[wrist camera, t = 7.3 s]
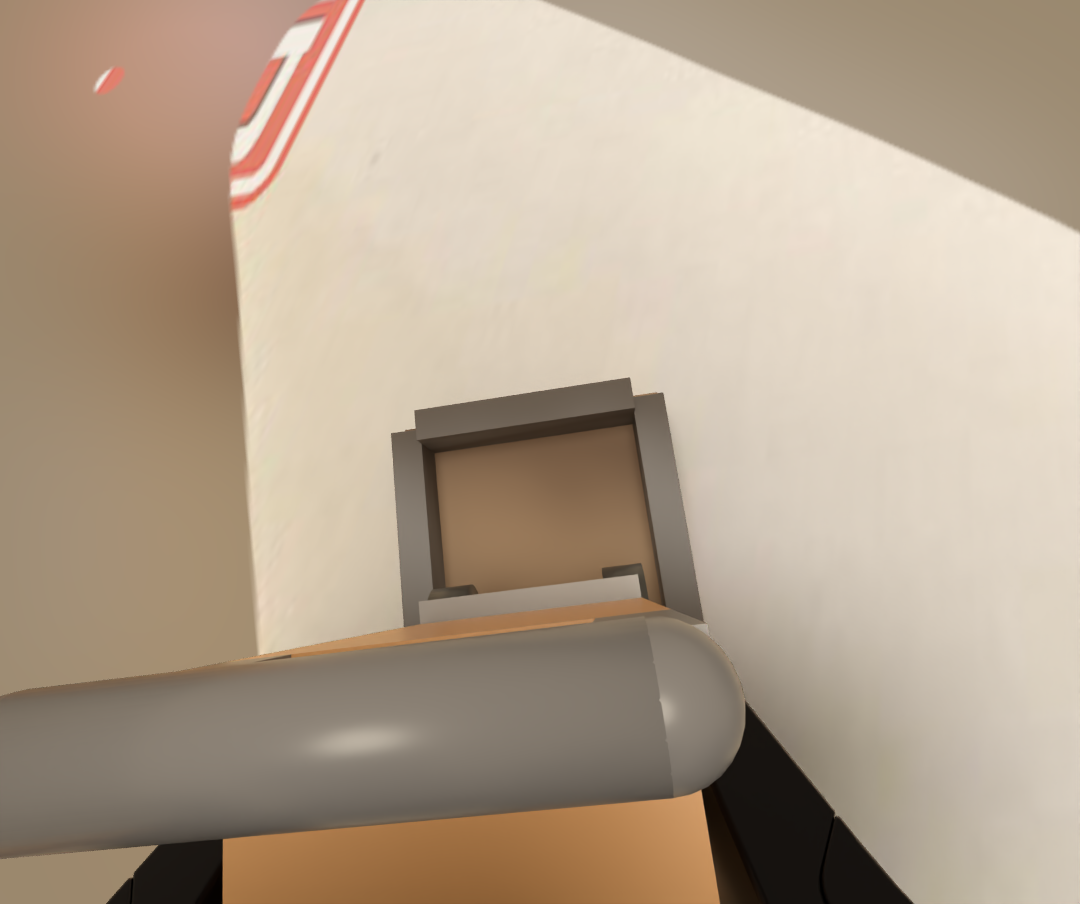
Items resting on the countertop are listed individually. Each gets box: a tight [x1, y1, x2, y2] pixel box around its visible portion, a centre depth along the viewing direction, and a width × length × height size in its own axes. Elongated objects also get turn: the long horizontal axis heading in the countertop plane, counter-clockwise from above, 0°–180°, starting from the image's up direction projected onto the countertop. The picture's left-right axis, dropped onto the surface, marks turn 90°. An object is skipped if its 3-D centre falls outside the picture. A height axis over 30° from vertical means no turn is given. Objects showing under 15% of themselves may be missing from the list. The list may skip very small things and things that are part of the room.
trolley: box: [0, 563, 745, 904], centre depth 9 cm, size 6×5×13 cm
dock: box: [391, 378, 704, 627], centre depth 19 cm, size 18×9×4 cm, turn 7°
